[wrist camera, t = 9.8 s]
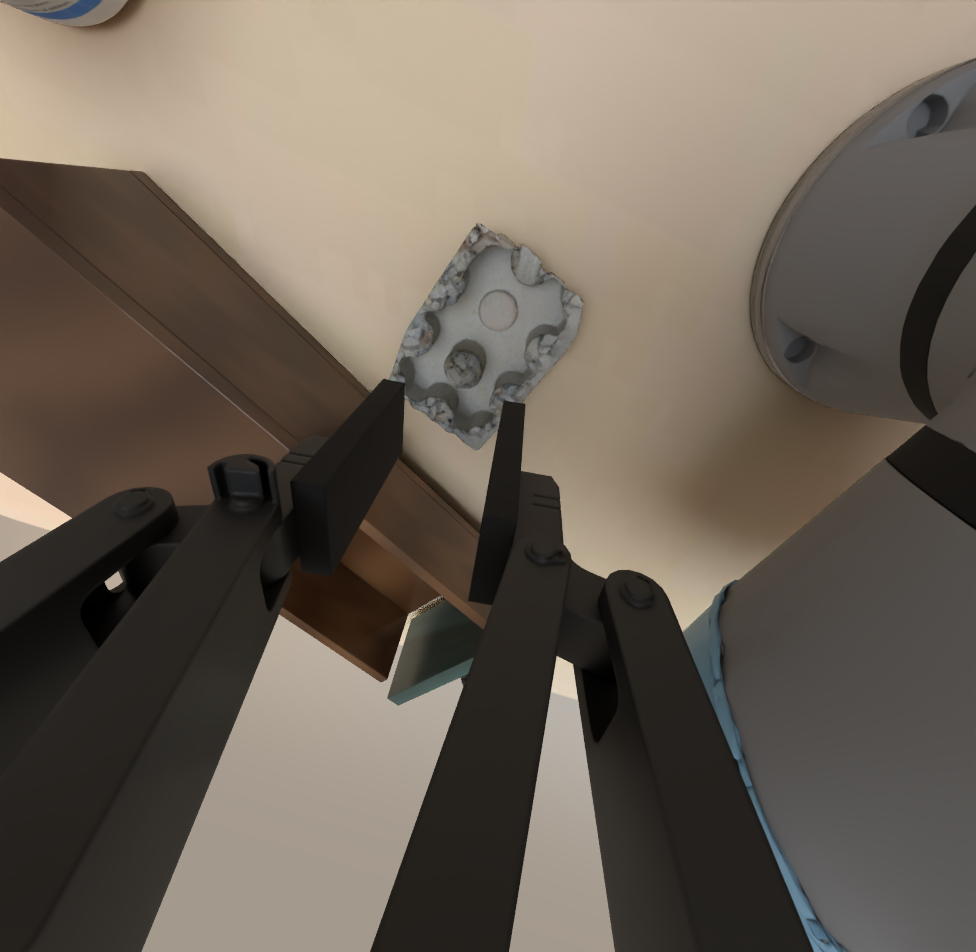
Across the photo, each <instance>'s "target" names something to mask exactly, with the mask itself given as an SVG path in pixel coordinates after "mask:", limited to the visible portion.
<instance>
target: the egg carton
mask: <svg viewBox="0 0 976 952" xmlns="http://www.w3.org/2000/svg"><path fill="white" fill-rule="evenodd" d="M476 226H477V227H474V228H473V229H472V230H471V232H470V233H469V235H468V236H467V237H466V239H465V241H464V242H463V244H462V245H461V247H460V248H459V250H458V252H457V253H456V255H455V256H454V258H453V259H452V261H451V262H450V264H449V265H448V267H447V268H446V270H445V272H444V273H443V275H442V276H441V278H440V279H439V280H438V282H437V283H436V285H435V287H434V288H433V290H432V291H431V293H430V294H429V296H428V297H427V299H426V300H425V302H424V304H423V306H422V307H421V309H420V310H419V311H418V313H417V314H416V316H415V317H414V319H413V321H412V322H411V324H410V326H409V327H408V329H407V331H406V333H405V336H404V339H403V341H402V344H401V347H400V350H399V353H398V356H397V359H396V362H395V365H394V368H393V371H392V374H391V376H390V379H389V380H392V381H398V382H404V383H405V396H404V398H406V399H407V400H408V401H409V402H410V404H411V406H412V407H413V408H414V409H417V410H419V411H421V412H423V413H424V414H426V415H427V416H428V417H429V418H430V419H431V420H432V421H434V422H436V423H437V424H439V425H440V426H441V427H442V428H443V429H445V430H446V431H447V432H450V433H453V434H455V435H457V436H458V437H459V438H460V439H461V440H462V441H463V442H464V443H465V444H467V445H468V446H470V447H471V448H473V449H474V450H478V449H480V448H481V447H482V446H483V445H484V444H485V443H486V441H487V440H488V439H489V438H490V437H491V436H492V435H493V434H494V433H495V432H496V431H497V429H498V428H499V423H500V418H501V412H502V406H503V401H504V400H506V401H511V402H517V403H522V402H523V401H524V400H525V398H526V397H527V396H528V395H529V393H530V392H531V391H532V389H533V388H534V387H535V386H536V385H537V384H538V383H539V382H540V381H541V379H542V378H543V377H544V376H545V374H546V373H547V372H548V371H549V370H550V369H551V368H552V367H553V366H554V365H555V363H556V362H557V361H558V360H559V359H560V358H561V356H562V355H563V354H564V353H565V352H566V351H567V350H568V348H569V347H570V345H571V344H572V342H573V341H574V339H575V338H576V335H577V332H578V329H579V324H580V319H581V314H582V309H583V305H584V302H583V301H582V299H581V298H580V297H579V296H578V295H576V294H574V293H573V292H571V291H568V290H567V288H566V286H565V283H564V282H563V281H562V280H561V279H559V278H558V277H557V276H556V275H555V274H554V273H551V272H550V273H546V272H545V271H544V270H543V269H542V267H541V263H542V261H540V260H539V259H538V257H536V256H535V255H534V254H533V253H532V252H531V251H530V250H529V249H528V248H526V247H525V246H524V245H522V244H521V247H519V248H516V247H515V245H514V243H513V242H512V241H511V240H509V239H508V238H507V237H506V236H505V235H503V234H499V235H496V234H495V233H494V232H492V231H490V230H489V229H487V228H486V227H485V226H483V225H482V224H480V223H476Z"/></svg>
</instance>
